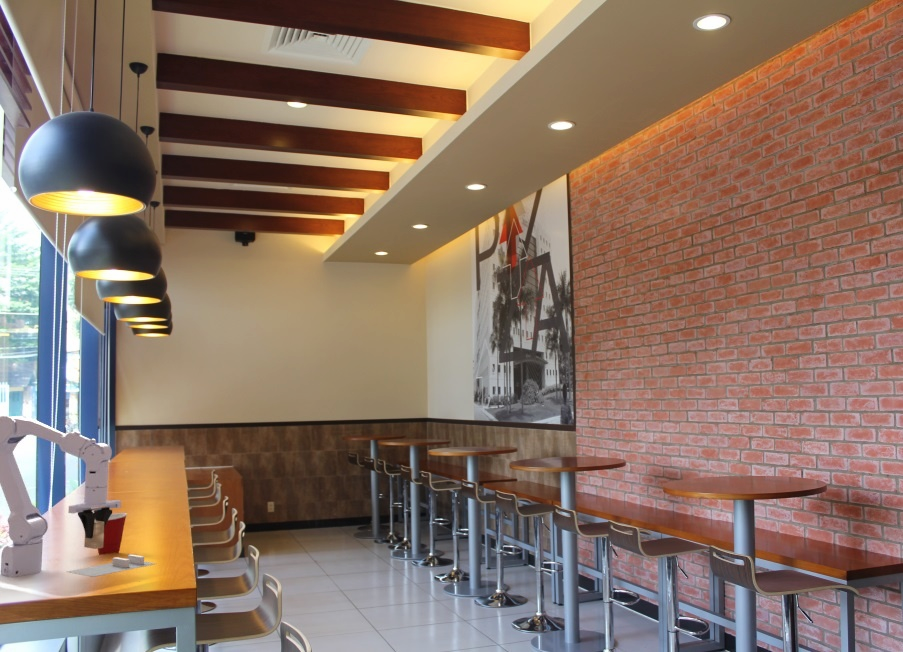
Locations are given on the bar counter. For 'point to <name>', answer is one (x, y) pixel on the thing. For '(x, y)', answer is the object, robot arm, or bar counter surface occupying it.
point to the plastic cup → (113, 534)
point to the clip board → (114, 566)
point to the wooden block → (96, 536)
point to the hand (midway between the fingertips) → (94, 537)
